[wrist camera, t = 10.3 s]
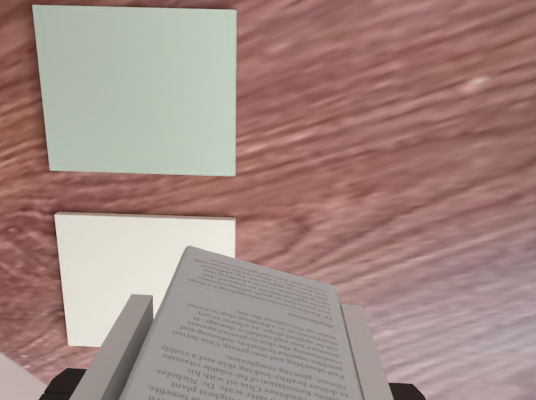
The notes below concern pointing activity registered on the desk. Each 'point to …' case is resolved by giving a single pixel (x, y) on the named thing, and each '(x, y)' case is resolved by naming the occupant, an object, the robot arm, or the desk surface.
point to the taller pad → (125, 262)
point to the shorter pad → (138, 89)
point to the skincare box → (244, 337)
